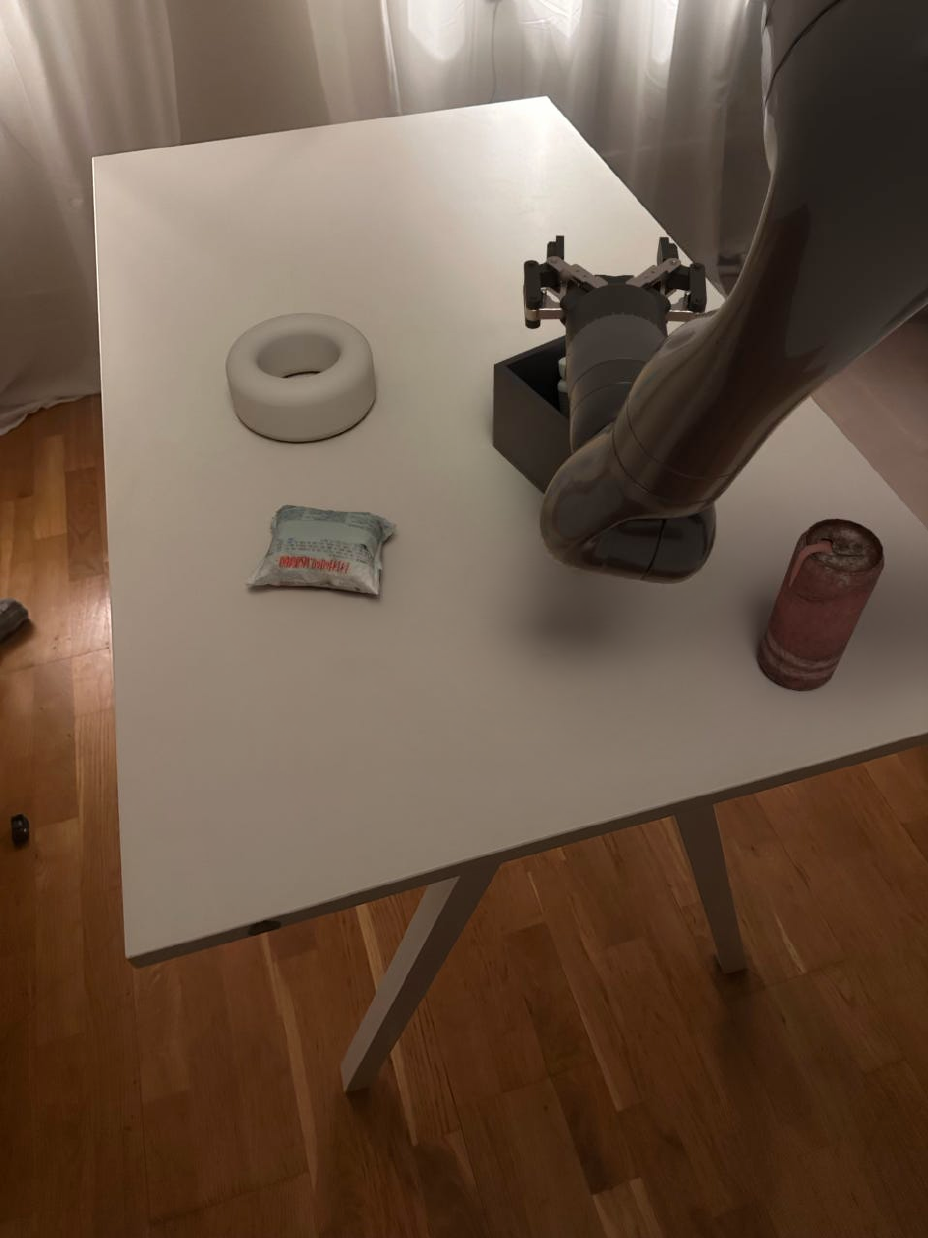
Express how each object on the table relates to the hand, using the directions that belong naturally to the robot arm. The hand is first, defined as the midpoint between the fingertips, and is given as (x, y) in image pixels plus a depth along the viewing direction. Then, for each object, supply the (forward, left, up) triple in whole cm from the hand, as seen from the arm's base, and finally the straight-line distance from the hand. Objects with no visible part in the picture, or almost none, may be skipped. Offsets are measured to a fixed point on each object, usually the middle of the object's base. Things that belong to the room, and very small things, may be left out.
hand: (610, 246), depth 80 cm
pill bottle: (+1, +1, -20) cm, 20 cm away
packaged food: (+30, 0, -22) cm, 37 cm away
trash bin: (+1, +1, -22) cm, 22 cm away
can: (+3, +31, -22) cm, 38 cm away
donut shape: (+20, -23, -22) cm, 37 cm away
